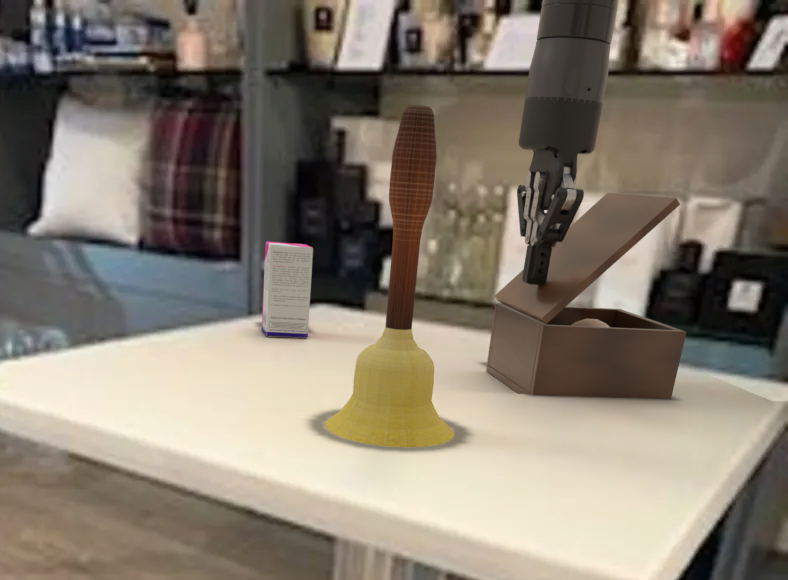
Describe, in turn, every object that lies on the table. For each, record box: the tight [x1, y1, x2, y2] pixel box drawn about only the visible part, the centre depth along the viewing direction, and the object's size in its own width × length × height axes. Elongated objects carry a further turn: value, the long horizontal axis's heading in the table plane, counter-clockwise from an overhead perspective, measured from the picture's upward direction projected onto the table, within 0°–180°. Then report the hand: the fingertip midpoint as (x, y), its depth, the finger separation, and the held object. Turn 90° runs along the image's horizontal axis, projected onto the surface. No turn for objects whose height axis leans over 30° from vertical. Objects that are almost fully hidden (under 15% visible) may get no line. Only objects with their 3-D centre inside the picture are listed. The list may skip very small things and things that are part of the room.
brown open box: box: [485, 302, 687, 400], centre depth 97 cm, size 16×16×8 cm
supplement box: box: [261, 240, 314, 339], centre depth 116 cm, size 6×6×12 cm
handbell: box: [324, 104, 455, 448], centre depth 70 cm, size 12×12×25 cm
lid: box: [493, 192, 681, 324], centre depth 93 cm, size 16×16×1 cm
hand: (533, 283), depth 93 cm, fingers closed
